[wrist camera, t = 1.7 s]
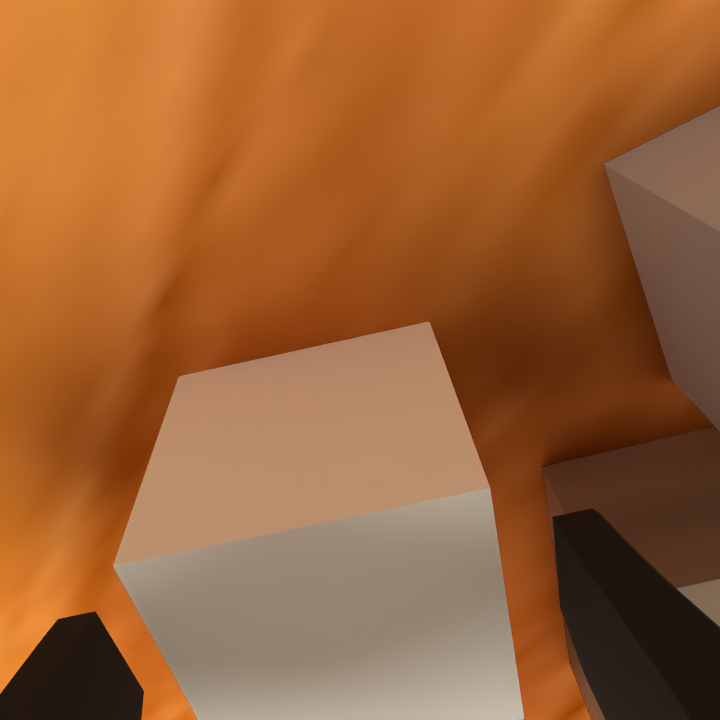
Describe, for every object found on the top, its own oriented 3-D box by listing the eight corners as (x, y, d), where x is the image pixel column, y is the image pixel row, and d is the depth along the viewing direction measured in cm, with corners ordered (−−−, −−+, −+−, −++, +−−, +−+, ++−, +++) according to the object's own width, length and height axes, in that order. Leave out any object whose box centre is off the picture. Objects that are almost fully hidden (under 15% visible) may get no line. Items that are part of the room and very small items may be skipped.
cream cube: (462, 510, 15) (524, 718, 11) (251, 554, 15) (228, 775, 11) (428, 319, 13) (489, 488, 8) (179, 374, 13) (112, 566, 9)
